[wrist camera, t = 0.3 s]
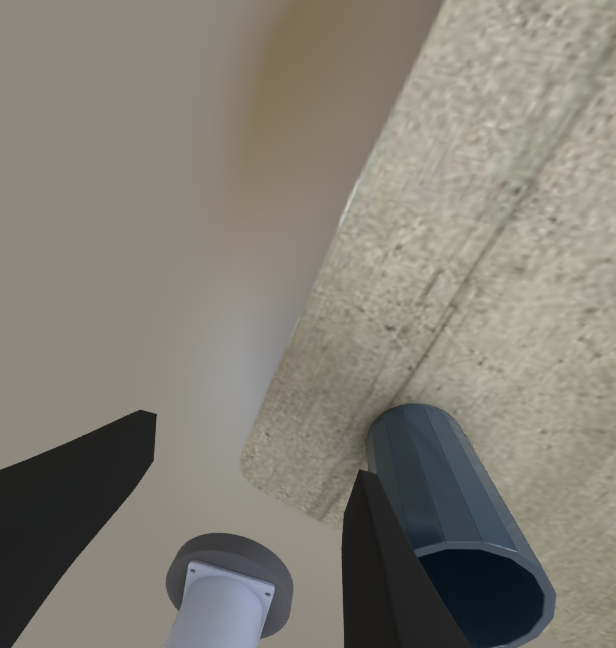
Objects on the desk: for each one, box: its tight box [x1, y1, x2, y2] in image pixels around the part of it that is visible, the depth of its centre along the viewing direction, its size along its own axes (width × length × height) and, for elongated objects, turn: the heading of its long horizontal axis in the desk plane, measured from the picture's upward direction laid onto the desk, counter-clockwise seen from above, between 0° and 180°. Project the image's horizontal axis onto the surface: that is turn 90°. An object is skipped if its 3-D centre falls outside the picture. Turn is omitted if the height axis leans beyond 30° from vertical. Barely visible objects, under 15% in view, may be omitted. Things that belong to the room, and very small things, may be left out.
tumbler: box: [366, 404, 556, 648], centre depth 16 cm, size 6×6×9 cm
